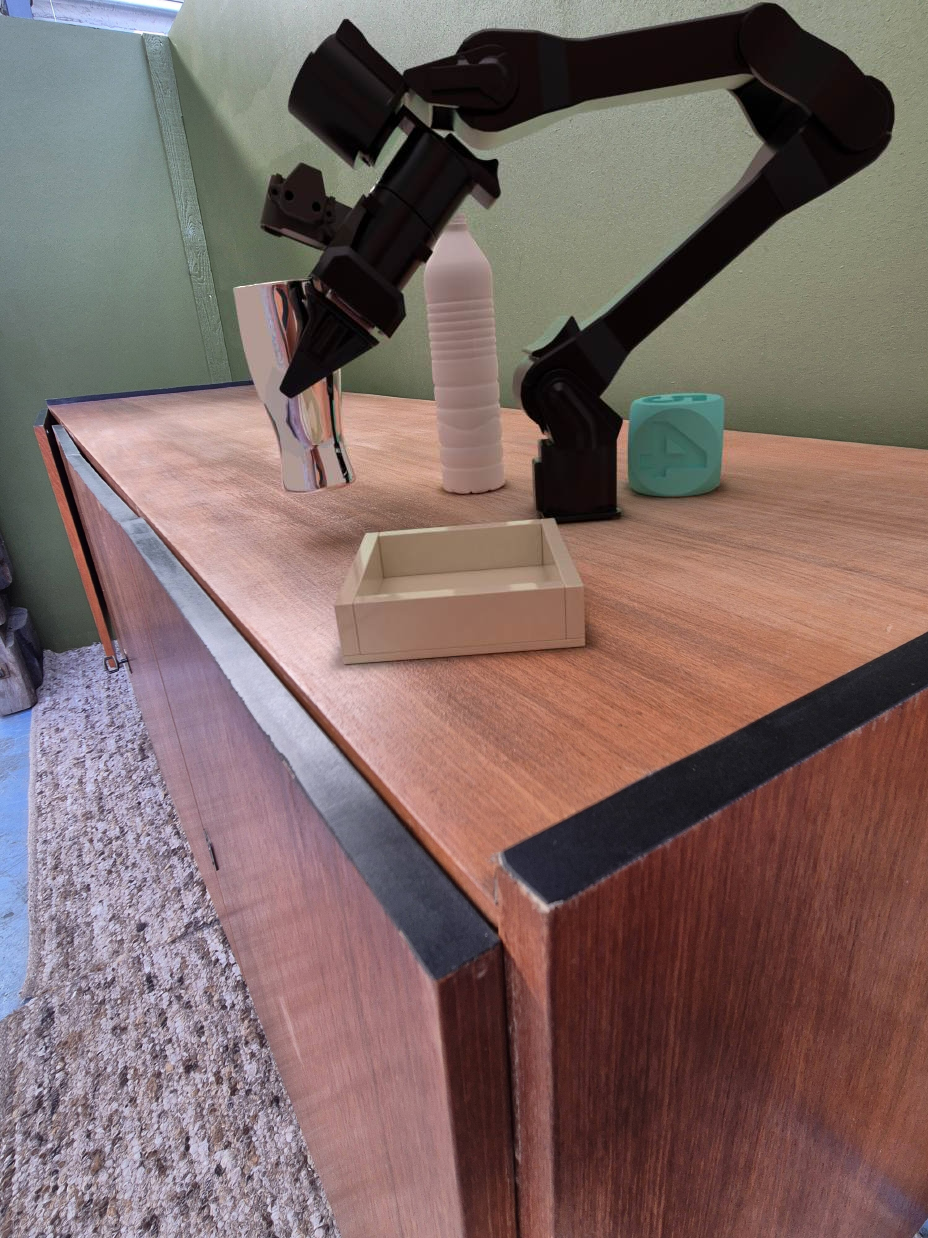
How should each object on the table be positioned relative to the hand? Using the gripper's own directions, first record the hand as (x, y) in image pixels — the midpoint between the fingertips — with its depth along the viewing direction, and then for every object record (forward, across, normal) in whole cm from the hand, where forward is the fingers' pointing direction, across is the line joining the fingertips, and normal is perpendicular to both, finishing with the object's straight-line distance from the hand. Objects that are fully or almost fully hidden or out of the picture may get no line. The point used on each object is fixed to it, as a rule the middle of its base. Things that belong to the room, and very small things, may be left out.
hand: (283, 390), depth 55 cm
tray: (+3, +19, +15) cm, 24 cm away
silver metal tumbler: (+4, 0, +6) cm, 8 cm away
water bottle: (-2, -13, +21) cm, 24 cm away
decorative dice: (-15, -2, +33) cm, 36 cm away
